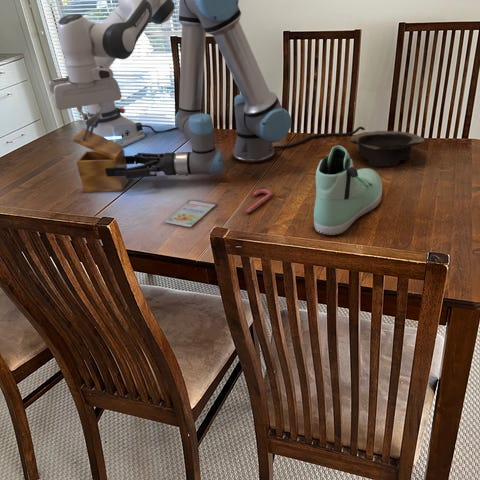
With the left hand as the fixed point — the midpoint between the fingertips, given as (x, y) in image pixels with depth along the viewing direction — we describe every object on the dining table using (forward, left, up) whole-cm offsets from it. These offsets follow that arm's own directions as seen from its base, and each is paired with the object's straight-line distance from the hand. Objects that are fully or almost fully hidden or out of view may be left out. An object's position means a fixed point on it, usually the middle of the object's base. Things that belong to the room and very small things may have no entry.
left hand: (92, 118), depth 153 cm
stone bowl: (-74, +62, -24) cm, 100 cm away
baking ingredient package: (-4, +39, -24) cm, 46 cm away
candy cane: (-21, +50, -24) cm, 59 cm away
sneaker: (-35, +74, -24) cm, 85 cm away
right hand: (-2, +2, -16) cm, 17 cm away
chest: (0, 0, -23) cm, 23 cm away
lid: (0, 0, -9) cm, 9 cm away
